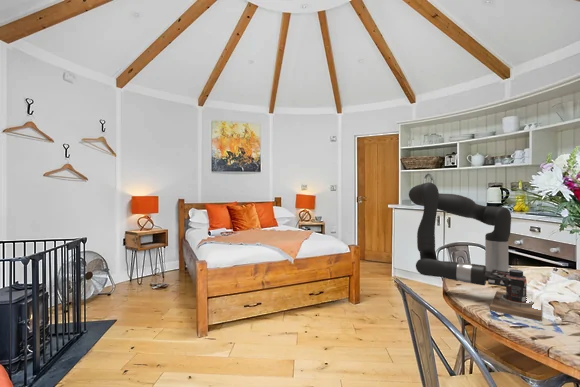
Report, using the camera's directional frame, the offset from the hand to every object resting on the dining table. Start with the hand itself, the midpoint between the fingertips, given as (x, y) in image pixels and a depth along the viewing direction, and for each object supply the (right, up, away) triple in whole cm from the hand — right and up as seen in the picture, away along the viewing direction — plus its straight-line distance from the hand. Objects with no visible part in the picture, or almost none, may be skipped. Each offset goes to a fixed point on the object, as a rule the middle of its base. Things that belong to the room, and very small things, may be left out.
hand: (524, 281), depth 110 cm
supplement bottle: (-2, -8, +2) cm, 8 cm away
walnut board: (-2, -9, +2) cm, 10 cm away
